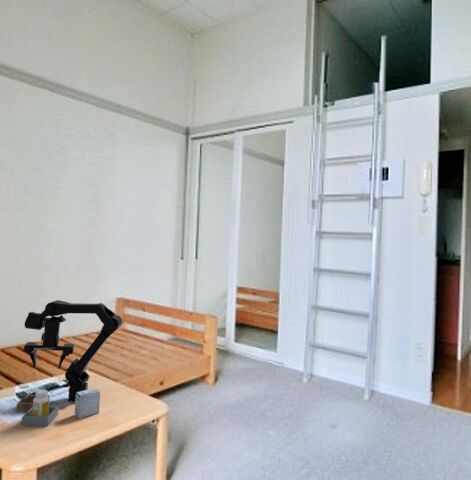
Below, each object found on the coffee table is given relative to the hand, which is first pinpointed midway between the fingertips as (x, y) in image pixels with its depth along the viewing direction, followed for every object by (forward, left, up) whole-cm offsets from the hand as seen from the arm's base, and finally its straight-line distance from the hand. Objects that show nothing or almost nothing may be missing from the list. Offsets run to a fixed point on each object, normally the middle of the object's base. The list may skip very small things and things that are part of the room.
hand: (47, 368), depth 170 cm
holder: (+1, +9, -12) cm, 15 cm away
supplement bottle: (-6, +20, -12) cm, 24 cm away
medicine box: (-21, +14, -12) cm, 29 cm away
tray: (-6, +20, -12) cm, 24 cm away
